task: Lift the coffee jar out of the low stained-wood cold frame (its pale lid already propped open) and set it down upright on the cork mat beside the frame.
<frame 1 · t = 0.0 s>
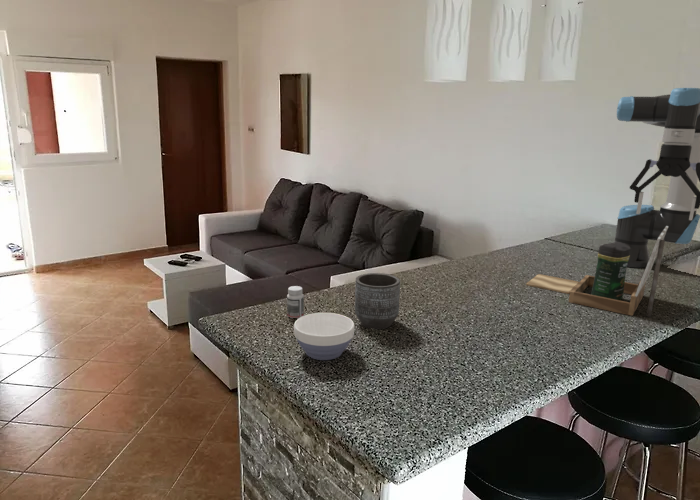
hand: (663, 216, 154), 28 cm above the counter, fingers open, 13 cm apart
planter: (376, 323, 143), on the counter
pill bottle: (295, 316, 147), on the counter
mat: (552, 284, 179), on the counter
cold frame: (606, 298, 166), on the counter
bowl: (324, 353, 125), on the counter
coffee jar: (606, 299, 166), resting in cold frame
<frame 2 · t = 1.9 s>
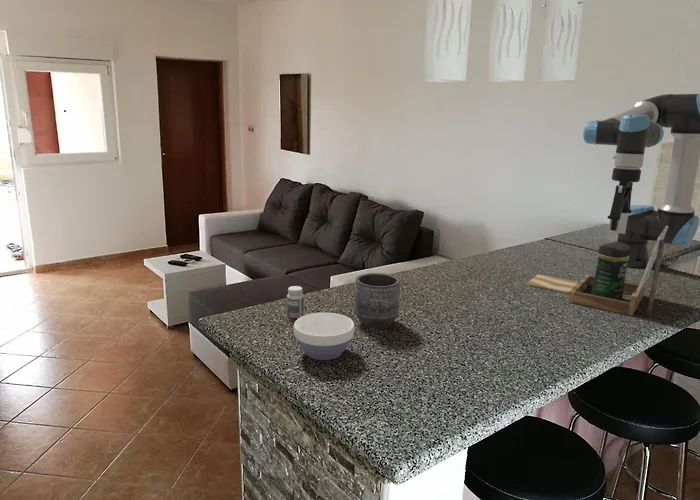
hand: (616, 236, 160), 20 cm above the counter, fingers open, 13 cm apart
nothing on the counter moved.
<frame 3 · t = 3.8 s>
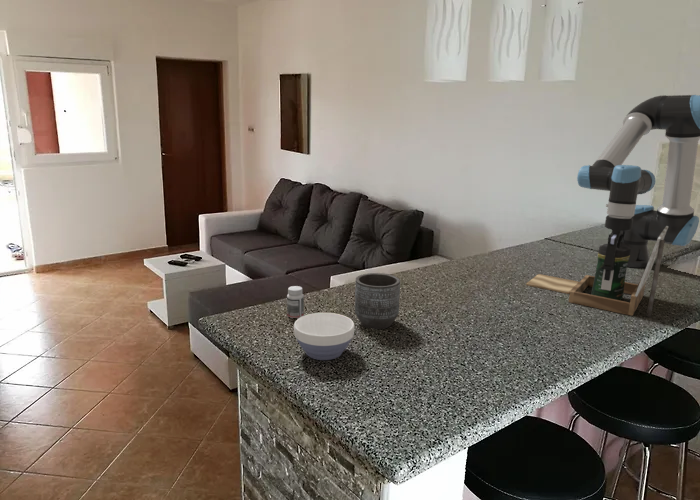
hand: (608, 285, 164), 5 cm above the counter, fingers closed on coffee jar, 9 cm apart
coffee jar: (606, 299, 166), resting in cold frame, touching gripper
everything else where it was.
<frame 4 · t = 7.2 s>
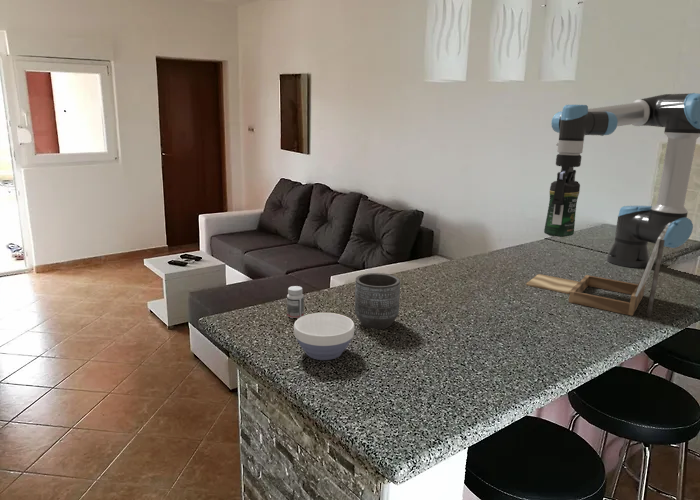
hand: (560, 221, 173), 22 cm above the counter, fingers closed on coffee jar, 9 cm apart
coffee jar: (558, 235, 174), point 17 cm above the counter, touching gripper
everything else where it was.
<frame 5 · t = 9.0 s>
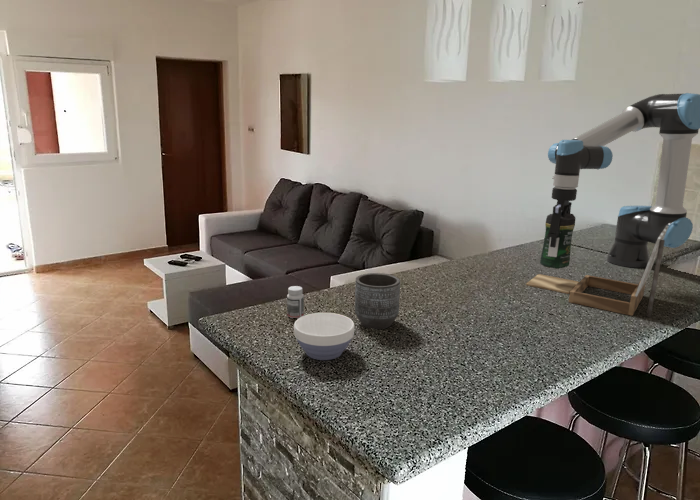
hand: (556, 253, 176), 11 cm above the counter, fingers closed on coffee jar, 9 cm apart
coffee jar: (554, 266, 177), point 6 cm above the counter, touching gripper
everything else where it was.
when the fingers open (6 cm above the counter, at t = 10.5 s): coffee jar drops 1 cm, resting on mat.
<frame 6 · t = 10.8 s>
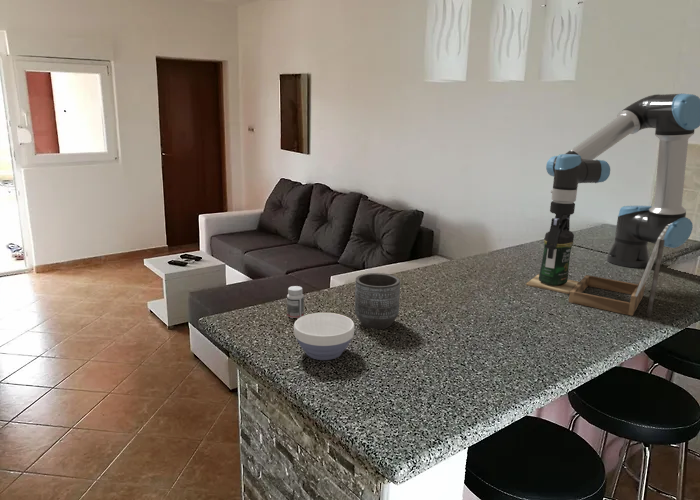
hand: (555, 263, 177), 8 cm above the counter, fingers open, 13 cm apart
coffee jar: (552, 282, 179), resting on mat
everything else where it was.
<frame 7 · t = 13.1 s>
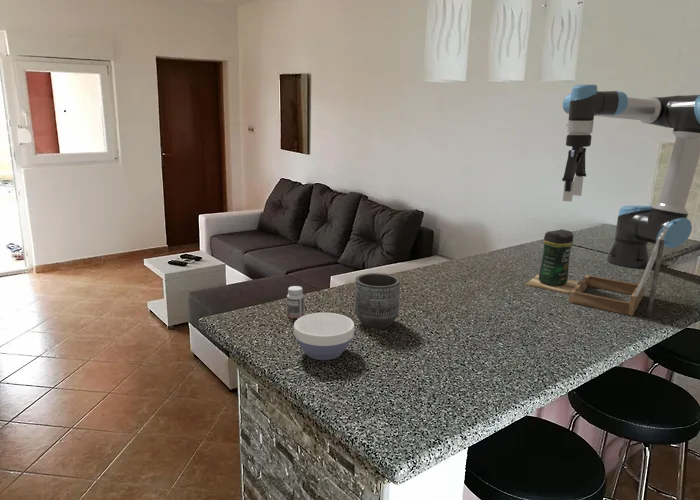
hand: (572, 198, 175), 30 cm above the counter, fingers open, 13 cm apart
nothing on the counter moved.
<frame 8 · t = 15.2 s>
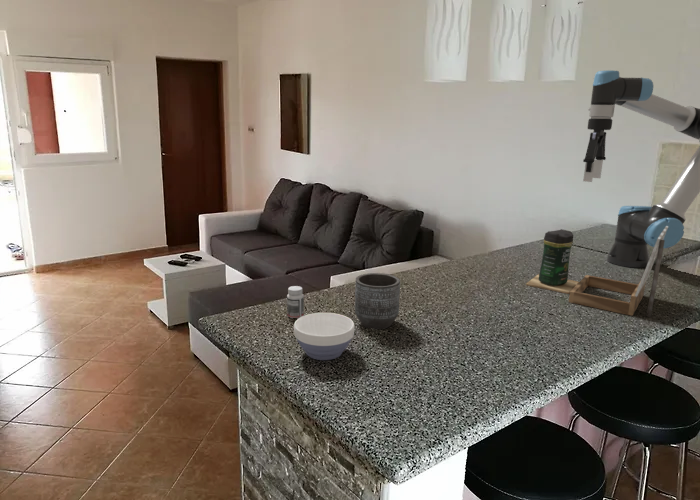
hand: (592, 179, 183), 35 cm above the counter, fingers open, 13 cm apart
nothing on the counter moved.
at the end: coffee jar inside the target area on the mat (0.1 cm from its centre), point 0.4 cm above the mat's base; coffee jar tilted 0°; the gripper is holding nothing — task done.
